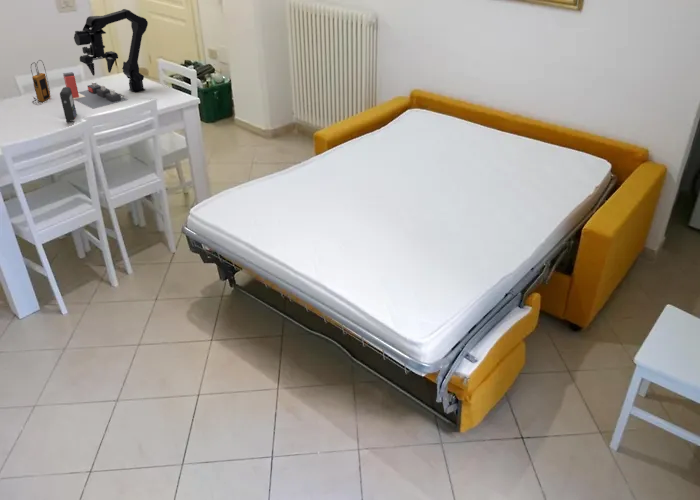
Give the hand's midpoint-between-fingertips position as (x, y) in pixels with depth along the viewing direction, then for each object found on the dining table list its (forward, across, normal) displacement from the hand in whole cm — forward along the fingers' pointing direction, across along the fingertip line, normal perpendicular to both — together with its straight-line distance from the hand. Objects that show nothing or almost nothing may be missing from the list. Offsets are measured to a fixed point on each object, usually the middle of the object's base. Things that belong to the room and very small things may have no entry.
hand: (101, 74), depth 307 cm
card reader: (+14, +29, +16) cm, 36 cm away
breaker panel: (+13, +6, 0) cm, 14 cm away
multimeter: (+14, +24, -23) cm, 36 cm away
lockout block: (+12, +12, -9) cm, 19 cm away
